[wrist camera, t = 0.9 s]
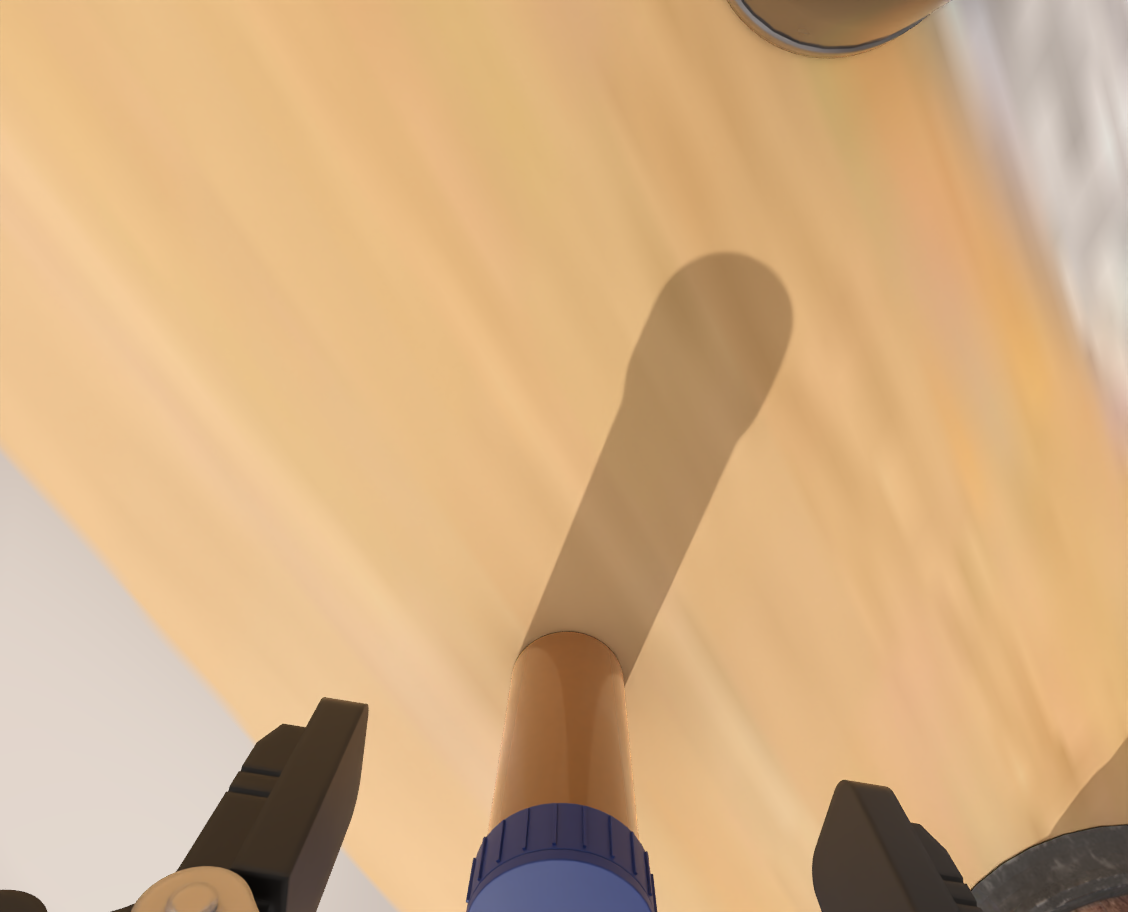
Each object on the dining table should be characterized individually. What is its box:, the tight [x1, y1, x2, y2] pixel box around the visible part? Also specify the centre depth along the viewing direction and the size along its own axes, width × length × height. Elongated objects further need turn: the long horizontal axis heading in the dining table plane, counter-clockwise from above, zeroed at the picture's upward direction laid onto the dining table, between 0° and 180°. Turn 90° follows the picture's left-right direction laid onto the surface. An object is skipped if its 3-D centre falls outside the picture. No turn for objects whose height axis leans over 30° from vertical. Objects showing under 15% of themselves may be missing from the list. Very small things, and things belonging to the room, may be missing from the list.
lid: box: [466, 803, 657, 912], centre depth 24 cm, size 6×6×2 cm
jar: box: [487, 632, 639, 840], centre depth 29 cm, size 5×5×13 cm
